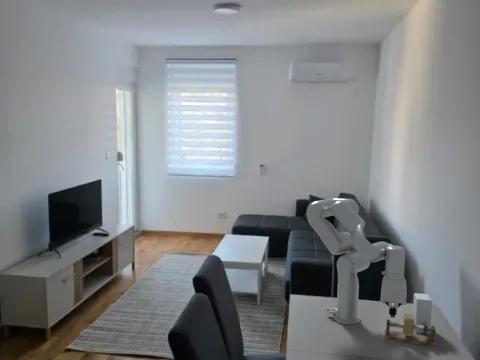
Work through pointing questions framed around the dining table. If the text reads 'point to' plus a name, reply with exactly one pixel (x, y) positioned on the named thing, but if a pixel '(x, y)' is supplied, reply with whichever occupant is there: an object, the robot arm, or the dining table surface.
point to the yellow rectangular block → (408, 324)
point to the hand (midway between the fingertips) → (392, 316)
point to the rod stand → (411, 338)
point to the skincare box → (422, 310)
